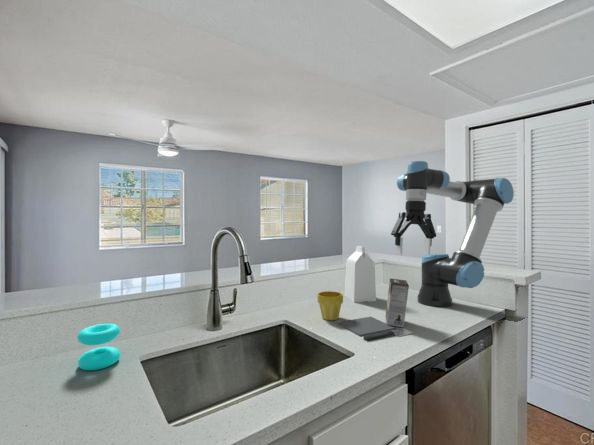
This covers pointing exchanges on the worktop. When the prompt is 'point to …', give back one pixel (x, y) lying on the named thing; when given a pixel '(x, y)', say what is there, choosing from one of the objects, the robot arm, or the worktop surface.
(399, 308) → the coffee box
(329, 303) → the plant pot
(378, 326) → the mat
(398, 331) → the turner
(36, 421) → the worktop surface
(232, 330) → the worktop surface
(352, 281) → the milk
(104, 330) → the donuts
